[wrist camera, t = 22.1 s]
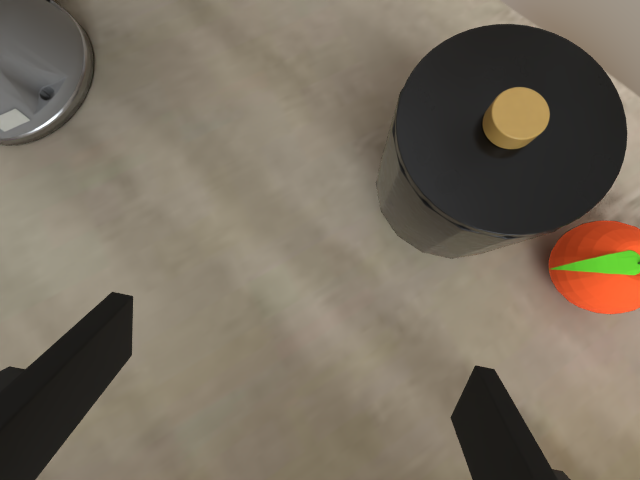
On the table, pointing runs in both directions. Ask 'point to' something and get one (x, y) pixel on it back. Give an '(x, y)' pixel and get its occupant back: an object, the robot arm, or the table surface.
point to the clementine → (598, 267)
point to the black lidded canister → (499, 141)
